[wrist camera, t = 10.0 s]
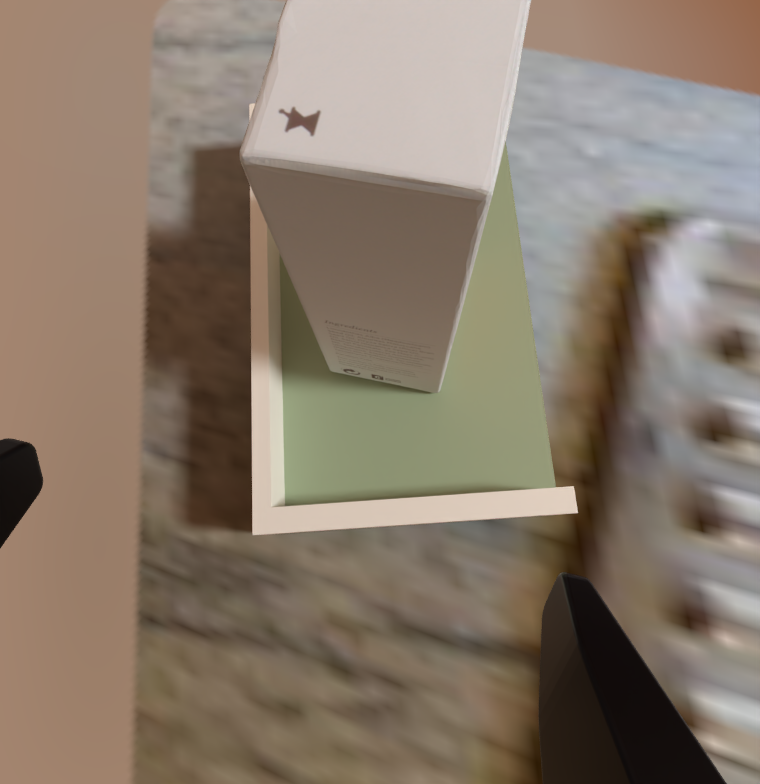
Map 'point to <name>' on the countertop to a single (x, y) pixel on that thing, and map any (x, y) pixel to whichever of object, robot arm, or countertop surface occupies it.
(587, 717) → the robot arm
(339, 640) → the countertop surface
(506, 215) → the pad
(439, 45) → the skincare box
